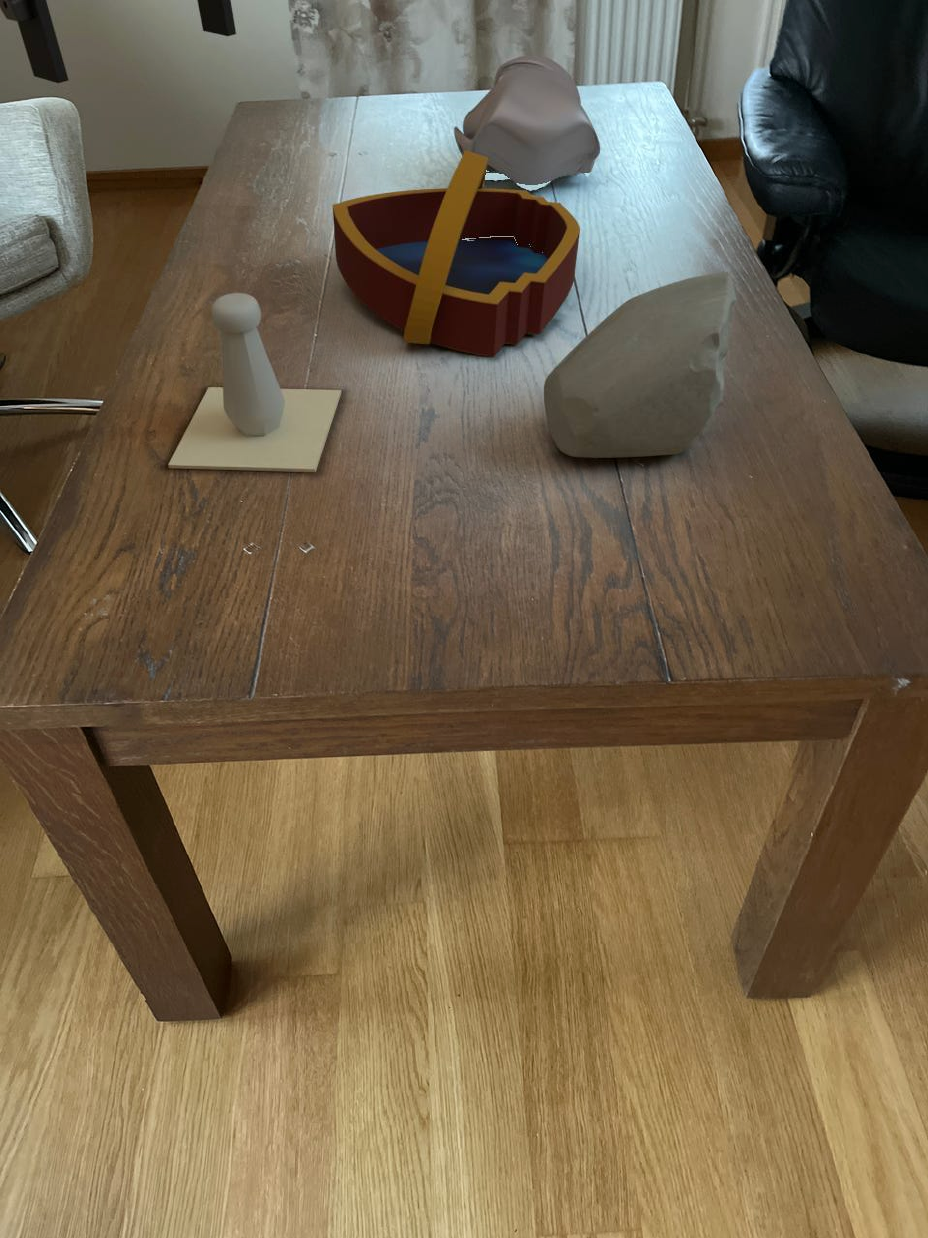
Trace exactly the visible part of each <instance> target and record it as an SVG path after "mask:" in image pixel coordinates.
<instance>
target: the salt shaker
mask: <svg viewBox="0 0 928 1238" xmlns="http://www.w3.org/2000/svg"><path fill="white" fill-rule="evenodd" d="M210 312H211V313H210V314H211V319H212V322H213V324H214V325H215V327H216V328H217V330H218V331H220V332H221V361H222V363H221V364H222V387H223V405H224V410H225V412H226V414H227V416H228V418H229V419H230V420H231V421H232V422H233V423H234V424H235V426H236V427H237V428H238V429H239V430H240V431H241V432H242V433H243V434H244V435H246V436H266V435H267V434H269V433H271V432H272V431H274V430H276V429H277V428H279V425H280V421H281V417H282V413H283V410H284V406H285V399H284V397H283V394H282V392H281V389H282V388H281V387H280V384H279V382H278V379H277V377H276V375H275V372H274V369H273V367H272V365H271V362H270V360H269V356H268V355H267V352H266V349H265V347H264V344H263V341H262V339H261V336H260V333H259V330H258V328H257V327H258V326H259V325H260V323H261V320H262V311H261V307H260V304H259V302H258V300H257V299H256V297H254V296H253V295H250V294H248V293H242V292H233V293H227V294H224V295H221V296H220V297H218V298H216V299H215V301H214V302H213V304H212V306H211V308H210Z"/></svg>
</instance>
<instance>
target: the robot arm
mask: <svg viewBox="0 0 928 1238" xmlns="http://www.w3.org/2000/svg"><path fill="white" fill-rule="evenodd" d="M197 5H198V12H199V16H200V21H201V27H202V31H203V32H205V33H206V32H207V33H211V34H216V35H221V36H224V37H231V36H234V35H237V31H236V25H235V19H234V12H233V7H232V6H233V5H232V1H231V0H197ZM0 11H1V12H2V14H3V15H4V17H5V19H6V20H8V21H9V20H10V21H14V22H16V23H17V25H18V28H19V31H20V34H21V38H22V42H23V44H24V48H25V51H26V55H27V58H28V61H29V65H30V68H31V72H32V75H33V77H35V78H39V79H42V80H46V81H49V82H53V83H56V84H61V83H64V82H68V81H69V80H70V79H69V76H68V73H67V69H66V65H65V62H64V58H63V55H62V50H61V48H60V45H59V41H58V37H57V34H56V30H55V27H54V23H53V20H52V16H51V12H50V9H49V6H48V1H47V0H0Z"/></svg>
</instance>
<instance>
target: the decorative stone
mask: <svg viewBox="0 0 928 1238" xmlns="http://www.w3.org/2000/svg"><path fill="white" fill-rule="evenodd" d="M736 303H737V296H736V290H735V288H734V276H733V275H732V274H731V273H730V272H728V271H727V272H726V271H725V272H719V273H711V274H705V275H698V276H692V277H689V278H685V279H682V280H678V281H675V282H672V283H669V284H665V285H663V286H662V285H661V286H659V287H656V288H654V289H651V290H649V291H646V292H643V293H641V294H638V295H636V296H633V297H632V298H630V299H628V300H626V301H625V302H623V303H622V304H621V305H620V306H618V307H617V308H616V309H615V310H614V311H612V312H611V313H610V314H609V315H608V316H607V317H605V319H603V320H602V321H601V322H600V323H599V324H598V325H597V326H596V327H594V329H592V331H590V332H589V333H588V334H587V335H586V336H585V337H584V338H583V339H582V340H580V342H579V343H578V344H577V345H576V346H575V347H574V348H573V349H572V350H571V351H570V352H569V353H568V354H566V356H565V357H564V358H563V359H562V360H561V361H560V362H559V363H558V364H557V365H556V366H555V367H554V369H552V370H551V372H550V373H549V374H548V375H547V377H546V378H545V380H544V384H543V404H544V405H543V406H544V413H545V418H546V422H547V427H548V430H549V433H550V436H551V438H552V440H553V442H554V443H555V444H554V445H556V448H558V450H559V451H561V452H562V453H563V454H565V455H567V456H570V457H573V458H594V459H595V458H598V459H599V458H601V459H602V458H603V459H604V458H606V459H608V458H609V459H610V458H635V457H654V456H655V457H656V456H669V455H671V456H672V455H679V454H681V453H683V451H685V450H686V449H687V448H688V447H689V446H690V445H691V444H692V443H693V442H694V441H695V440H696V439H697V438H698V437H699V436H700V435H701V433H702V431H703V430H704V428H705V427H706V426H707V424H708V422H709V420H710V419H711V418H712V416H713V415H714V412H715V411H717V409H718V408H720V407H721V406H723V405H724V401H723V391H724V387H725V377H724V371H723V367H724V358H725V357H726V356H727V355H728V340H729V339H728V338H729V332H730V326H731V322H732V319H733V316H734V312H735V305H736Z"/></svg>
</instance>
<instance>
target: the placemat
mask: <svg viewBox="0 0 928 1238" xmlns="http://www.w3.org/2000/svg"><path fill="white" fill-rule="evenodd" d="M280 389H281V392H282V394H283V397H284V399H285V406H284V410H283V413H282V417H281V421H280V425H279V428H277V429H276V430H274V431H272V432H271V433H269V434H267V435H266V436H246V435H244V434H243V433H242V432H241V431H240V430H239V429H238V428H237V427H236V426H235V424H234V423H233V422H232V421H231V420H230V419H229V418H228V416H227V414H226V412H225V410H224V405H223V386H221V387H219V386H218V387H216V386H208V387H207V390H206V392H205V393H204V395H203V397H202V399H201V401H200V403H199V404H198V407H197V408H196V411H195V412H194V414H193V416H192V418H191V420H190V422H189V424H188V425H187V428H186V430H185V431H184V433H183V435H182V438H181V439H180V441H179V442H178V444H177V447H176V449H175V451H174V453H173V455H172V456H171V458H170V461H169V462H168V464H167V466H168V469H182V470H215V471H216V470H217V471H253V472H285V473H287V472H288V473H289V472H290V473H316V472H317V469H318V466H319V463H320V461H321V460H320V459H321V457H322V454H323V451H324V448H325V445H326V443H327V442H326V441H327V438H328V435H329V432H330V430H331V426H332V423H333V421H334V418H335V414H336V411H337V408H338V405H339V401H340V398H341V396H342V390H341V389H315V388H313V389H311V388H307V389H304V388H280Z"/></svg>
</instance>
